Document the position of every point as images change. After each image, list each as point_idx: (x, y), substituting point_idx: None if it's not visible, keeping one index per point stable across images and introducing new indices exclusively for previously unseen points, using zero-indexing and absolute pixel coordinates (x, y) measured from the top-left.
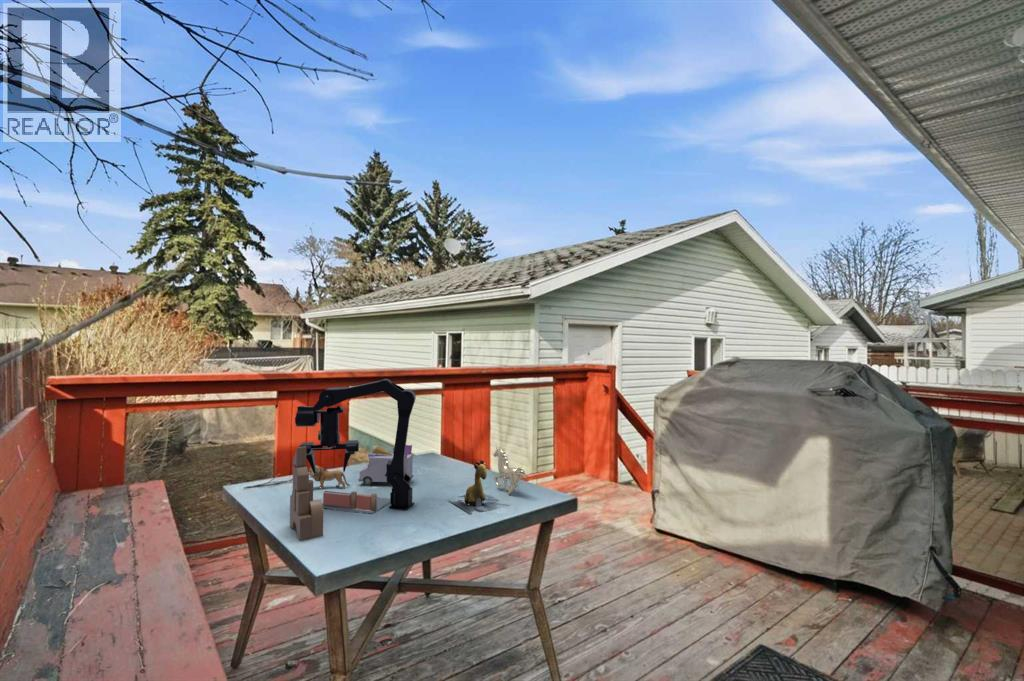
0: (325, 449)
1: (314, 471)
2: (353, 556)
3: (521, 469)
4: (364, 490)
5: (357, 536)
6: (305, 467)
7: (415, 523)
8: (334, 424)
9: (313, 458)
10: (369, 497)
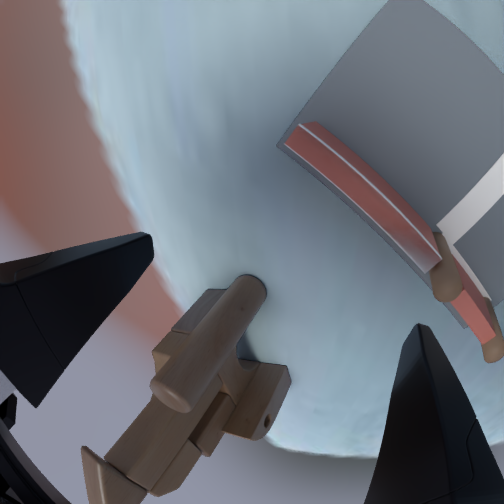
0: (50, 490)
1: (135, 276)
2: (327, 445)
3: None
4: None
5: (359, 413)
6: (153, 494)
7: (490, 407)
8: None
9: (41, 346)
10: (479, 340)
